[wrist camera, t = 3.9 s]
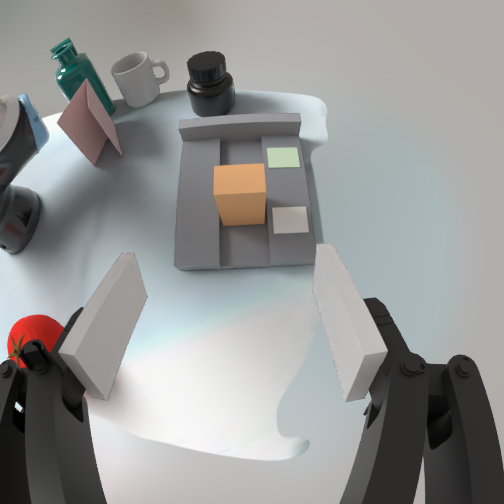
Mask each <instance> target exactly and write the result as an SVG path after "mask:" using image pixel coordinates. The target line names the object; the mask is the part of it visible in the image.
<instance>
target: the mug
mask: <svg viewBox="0 0 504 504" xmlns="http://www.w3.org/2000/svg"><path fill="white" fill-rule="evenodd" d="M155 66H161V67H162V68H163V69H164V72H165V76H164V77H162V78H156V76H155V74H154V72H153V69H152V68H153V67H155ZM111 73H112V75H113V77H114V79H115V81H116V83H117V85H118V87H119V89H120V91H121V93H122V95H123V97H124V99H125V102H126V103H127V105H128V106H129V107H132V108H138V107H142V106H145V105H147V104H149V103H151V102H152V101H153V100H155V99H156V98H157V96H158V95H159V92H160V88H159V84H162V83H165V82H166V81H168V79H169V69H168V67H167V65H166V63H165V62H164V61H162V60H153V61H150V60H149V58H148V55H147V54H146V53H144V52H135V53H132V54H129V55H127V56H125V57H123V58H121V59H120V60H118V61H117V62H116V63H115V64H114V65H113V66H112V68H111Z"/></svg>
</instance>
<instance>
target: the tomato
mask: <svg viewBox="0 0 504 504" xmlns="http://www.w3.org/2000/svg"><path fill="white" fill-rule="evenodd" d="M63 329H64V327H63V326H62V325H60V324H59V323H58V322H57V321H56V320H54V319H52V318H50V317H49V316H45V315H31V316H27V317H25V318H22V319H20V320H19V321H18V322H16V323H15V324H14V326H13V327H12V329H11V331H10V333H9V337H8V343H7V348H8V354H9V356H8V358H10V359H11V360H14V361H15V362H16V364H17V365H18V366H19V367H20V368H23V367H26V365H25V364H24V363H23V361H22V360H21V359H20V357H19V356H18V353H19V350H20V349H21V347H22V346H23V345H24V344H25V343H27V342H28V341H30V340H33V339H39V340H41V341H42V342H43V344H44V345H45V347H46V348H47V350H48V351H49V353H50V352H51V350H52V348H53V346H54V345H55V343H56V341H57V340H58V338H59V336H60V334H61V333H62V331H64V330H63Z"/></svg>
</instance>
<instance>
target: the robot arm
mask: <svg viewBox="0 0 504 504" xmlns="http://www.w3.org/2000/svg"><path fill="white" fill-rule="evenodd" d="M48 139H49V132H48V130H47V128H46V126H45V124H44V122H43V121H42V119H41V117H40V115H39V114H38V112H37V110H36V109H35V107H34V105H33V103H32V101H31V100H30V98H29V96H28V95H27V94H22V95H21V96H19V97H18V99H17V98H16V97H14V96H13V95H4V96H1V97H0V248H1V249H3V250H4V251H6V252H9V253H12V254H14V253H17V252H19V251H20V250H22V249H23V248H24V247H25V246H26V244H27V243H28V242H29V240H30V239H31V237H32V235H33V233H34V231H35V228H36V225H37V222H38V218H39V213H40V202H39V198H38V196H37V194H36V193H34V192H33V191H32V190H30V189H28V188H24V187H20V186H15V185H11V184H10V183H11V182H12V181H13V179H14V178H15V177H16V176H17V175H18V174H19V173H20V171H21V170H22V169H23V168H24V167H25V166H26V165H27V164H28V163H29V162H30V160H31V159H32V158H33V157H34V156H35V155H36V154H38V153H39V151H40V149H41V148H42V147H43V146H44V145H45V144H46V143H47V141H48ZM313 294H314V297H315V300H316V304H317V307H318V310H319V313H320V317H321V320H322V323H323V326H324V330H325V333H326V336H327V340H328V343H329V347H330V350H331V353H332V357H333V361H334V364H335V368H336V371H337V375H338V379H339V382H340V386H341V390H342V394H343V397H344V401H345V402H349V401H354V400H359V399H364V398H365V396H366V394H367V393H368V391H369V392H370V395H371V398H372V400H371V402H370V403H369V405H368V407H367V408H366V410H365V412H364V414H363V415H366V414H367V417H366V421H365V426H364V429H363V433H362V437H361V441H360V444H359V448H358V452H357V455H356V458H355V462H354V465H353V468H352V471H351V474H350V477H349V480H348V483H347V485H346V488H345V491H344V493H343V496H342V499H341V501H340V504H413V501H414V497H415V493H416V489H417V484H418V480H419V474H420V469H421V463H422V457H424V472H425V504H504V470H503V463H502V456H501V450H500V445H499V440H498V435H497V431H496V426H495V422H494V418H493V414H492V410H491V407H490V403H489V400H488V397H487V394H486V390H485V387H484V384H483V382H482V379H481V376H480V373H479V370H478V368H477V366H476V364H475V362H474V361H473V360H472V359H471V358H469V357H467V356H465V355H456V356H453V357H452V358H451V359H450V360H449V362H448V364H428V363H426V362H425V360H424V359H423V358H422V357H421V356H419V355H418V354H414V353H412V352H410V351H409V349H408V347H407V345H406V343H405V341H404V339H403V337H402V335H401V333H400V332H399V330H398V328H397V326H396V324H394V321H393V319H392V317H391V316H390V314H389V312H388V310H387V309H386V306H385V305H384V304H383V303H382V302H380V301H379V300H378V299H377V298H367V299H362V297H361V295H360V293H359V291H358V289H357V287H356V285H355V283H354V281H353V280H352V278H351V276H350V274H349V272H348V270H347V268H346V267H345V265H344V263H343V261H342V260H341V258H340V256H339V254H338V252H337V251H336V249H335V247H334V246H333V244H332V243H324V244H317V246H316V259H315V270H314V281H313ZM147 298H148V296H147V293H146V290H145V287H144V284H143V280H142V277H141V274H140V270H139V267H138V263H137V260H136V256H135V253H121V255H120V256H119V258H118V259H117V260H116V262H115V263H114V265H113V266H112V267H111V269H110V270H109V272H108V273H107V274H106V276H105V277H104V279H103V280H102V282H101V283H100V285H99V286H98V288H97V289H96V291H95V292H94V294H93V295H92V297H91V298H90V300H89V301H88V303H87V304H86V306H85V308H83V307H81V308H80V309H79V310H77V311H76V312H75V313H74V314H73V315H72V317H71V318H70V320H69V321H68V325H66V326H65V328H64V329H63V330H64V331H62V333H61V334H60V336H59V338H58V340H57V341H56V343H55V345H54V346H53V348H52V350H51V352H50V353H49V351H48V350H47V348H46V347H45V345H44V344H43V342H42V341H41V340H39V339H33V340H30V341H28V342H27V343H25V344H24V345H23V346H22V347H21V349H20V350H19V353H18V356H19V357H20V359H21V360H22V361H23V363H24V364H25V365H26V367H23V368H20V367H19V366H18V365H17V364H16V362H15V361H14V360H11V359H9V360H6V361H4V362H2V364H1V365H0V504H107V502H106V499H105V495H104V492H103V488H102V485H101V481H100V477H99V473H98V468H97V464H96V459H95V454H94V449H93V443H92V437H91V431H90V424H89V416H88V407H87V401H86V399H85V398H84V396H83V394H84V392H85V389H86V390H87V392H88V393H89V394H90V395H91V396H92V397H93V398H98V399H103V400H108V398H109V395H110V392H111V389H112V386H113V383H114V380H115V377H116V375H117V372H118V369H119V366H120V364H121V361H122V358H123V356H124V353H125V351H126V348H127V345H128V343H129V340H130V338H131V335H132V333H133V330H134V328H135V326H136V323H137V321H138V318H139V316H140V314H141V311H142V309H143V307H144V304H145V302H146V300H147ZM16 402H17V403H18V404H19V405H20V406H21V407H22V410H21V412H19V411H18V410H17V409H16V408H15V403H16Z"/></svg>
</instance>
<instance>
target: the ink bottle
mask: <svg viewBox="0 0 504 504" xmlns="http://www.w3.org/2000/svg"><path fill="white" fill-rule="evenodd" d="M187 66H188V71H189V75H190V80H189V82H188V84H187V90H188V94H189V98H190V102H191V105H192V109H193V111H194V112H195V113H196V114H197V115H199V116H202V117H213V116H222V115H224V114H226V113H228V112H229V111H230V110H231V109H232V108H233V106H234V103H235V92H234V83H233V79H232V76H231V75H230V74H229V73H228V72H226V62H225V57H224V55H223V54H221V53H220V52H215V51H206V52H202V53H199V54H196V55H194V56H193V57H191V58H190V59H189V60H188V62H187Z"/></svg>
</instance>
